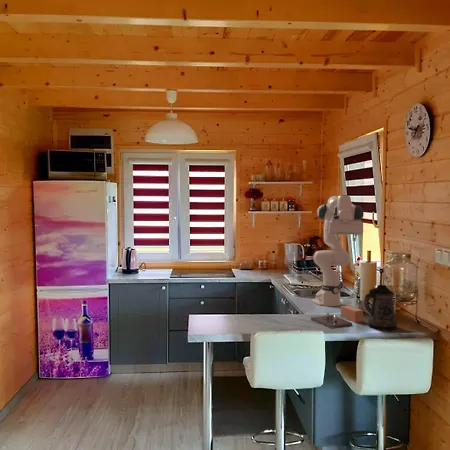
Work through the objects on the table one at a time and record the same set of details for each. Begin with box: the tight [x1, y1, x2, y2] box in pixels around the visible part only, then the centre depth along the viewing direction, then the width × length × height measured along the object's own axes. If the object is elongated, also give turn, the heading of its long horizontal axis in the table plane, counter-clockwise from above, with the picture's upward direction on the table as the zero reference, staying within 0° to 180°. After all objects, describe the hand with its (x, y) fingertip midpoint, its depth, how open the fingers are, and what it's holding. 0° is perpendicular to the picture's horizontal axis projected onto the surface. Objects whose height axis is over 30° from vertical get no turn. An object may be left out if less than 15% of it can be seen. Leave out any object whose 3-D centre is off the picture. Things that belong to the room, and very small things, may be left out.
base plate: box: [310, 312, 353, 328], centre depth 286 cm, size 20×16×5 cm
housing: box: [340, 305, 364, 323], centre depth 294 cm, size 14×6×7 cm, turn 23°
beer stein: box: [363, 284, 398, 332], centre depth 275 cm, size 16×19×25 cm
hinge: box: [360, 300, 372, 316], centre depth 310 cm, size 17×5×10 cm, turn 7°
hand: (346, 240), depth 278 cm, fingers open, 8 cm apart
